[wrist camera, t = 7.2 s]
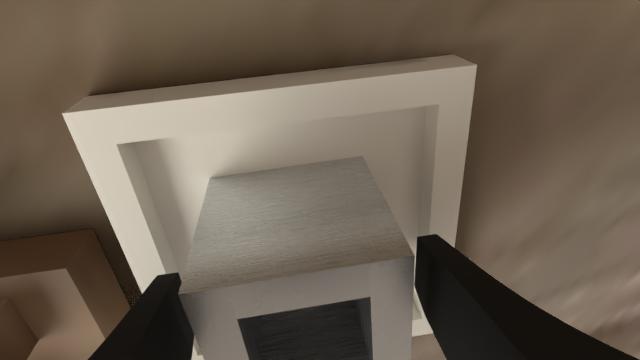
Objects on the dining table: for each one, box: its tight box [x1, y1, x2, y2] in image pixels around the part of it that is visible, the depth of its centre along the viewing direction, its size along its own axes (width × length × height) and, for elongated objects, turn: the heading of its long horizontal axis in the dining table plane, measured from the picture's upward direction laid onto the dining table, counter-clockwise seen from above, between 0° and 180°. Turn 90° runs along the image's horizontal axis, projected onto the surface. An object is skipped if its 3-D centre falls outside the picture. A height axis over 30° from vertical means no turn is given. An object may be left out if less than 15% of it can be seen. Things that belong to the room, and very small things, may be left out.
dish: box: [62, 54, 477, 360], centre depth 13 cm, size 11×11×2 cm
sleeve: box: [178, 156, 415, 360], centre depth 11 cm, size 5×5×5 cm
